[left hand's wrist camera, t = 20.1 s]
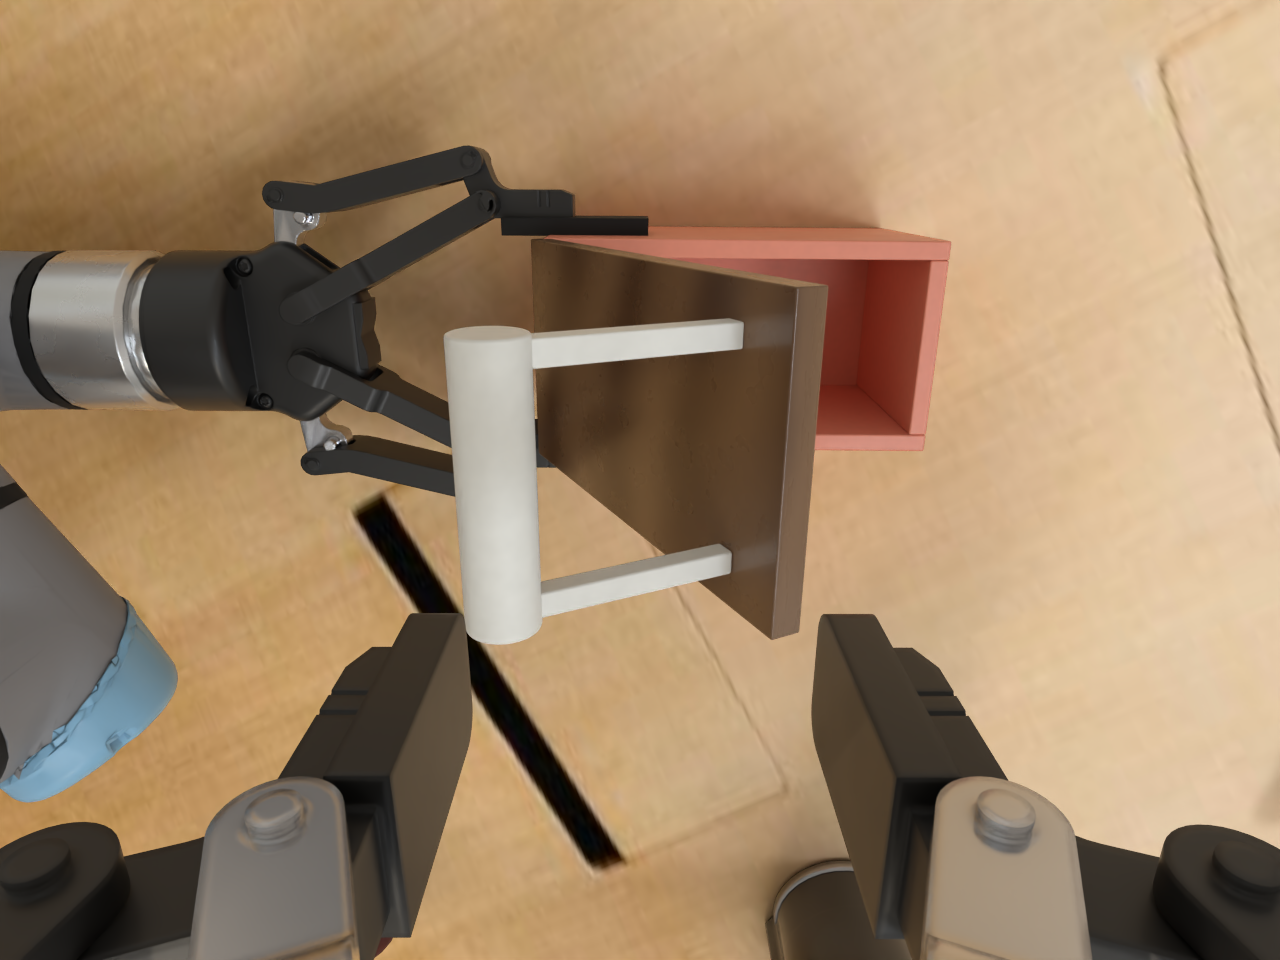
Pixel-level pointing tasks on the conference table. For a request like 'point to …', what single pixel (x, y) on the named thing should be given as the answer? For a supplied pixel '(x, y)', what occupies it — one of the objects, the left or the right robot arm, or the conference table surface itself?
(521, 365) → the lid
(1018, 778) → the conference table surface
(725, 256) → the chest
